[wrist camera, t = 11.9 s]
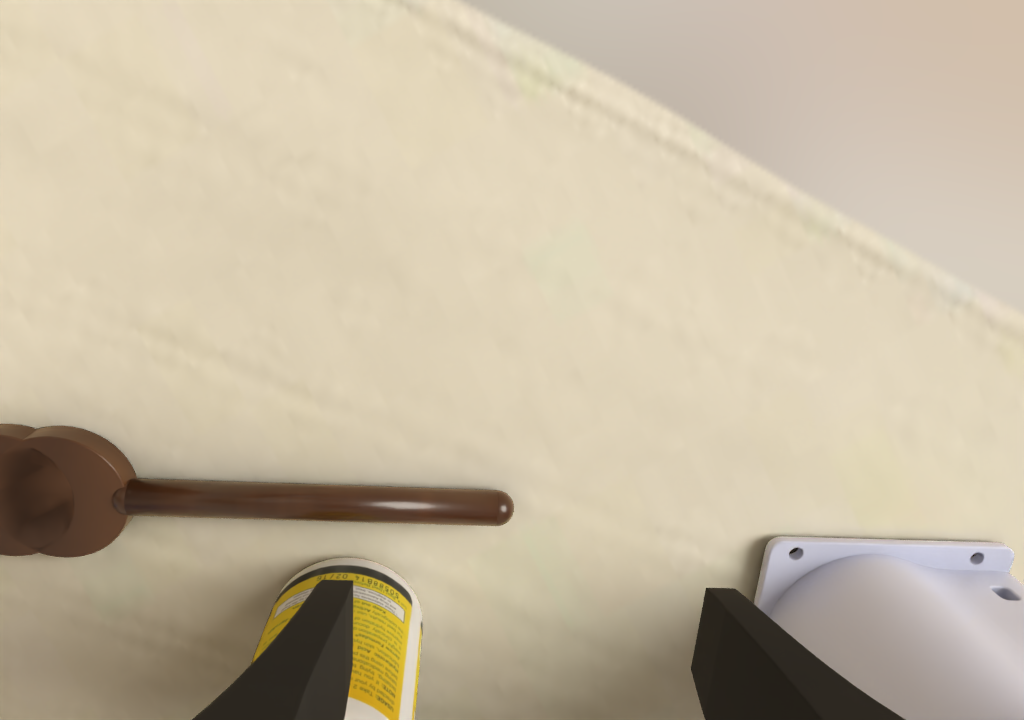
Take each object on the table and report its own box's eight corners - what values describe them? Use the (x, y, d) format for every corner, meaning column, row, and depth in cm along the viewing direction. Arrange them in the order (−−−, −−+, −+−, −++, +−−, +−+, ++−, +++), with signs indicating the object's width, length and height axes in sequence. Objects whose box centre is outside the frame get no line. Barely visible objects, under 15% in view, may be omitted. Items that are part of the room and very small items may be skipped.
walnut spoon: (517, 442, 25) (520, 458, 24) (508, 553, 26) (510, 573, 25) (-62, 420, 23) (-89, 436, 22) (-39, 539, 24) (-63, 560, 23)
